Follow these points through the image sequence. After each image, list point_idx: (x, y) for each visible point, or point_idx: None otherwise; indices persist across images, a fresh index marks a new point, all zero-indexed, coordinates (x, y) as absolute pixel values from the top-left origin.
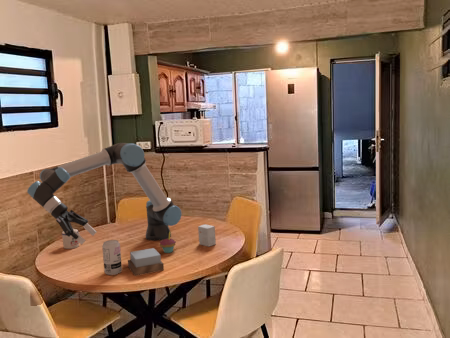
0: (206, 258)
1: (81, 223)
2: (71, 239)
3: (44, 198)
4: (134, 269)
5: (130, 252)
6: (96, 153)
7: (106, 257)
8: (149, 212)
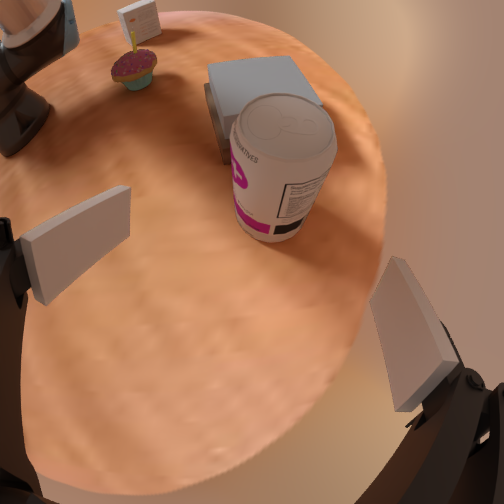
0: (235, 33)
1: (14, 315)
2: None
3: None
4: None
5: (230, 115)
6: None
7: (318, 192)
8: None
